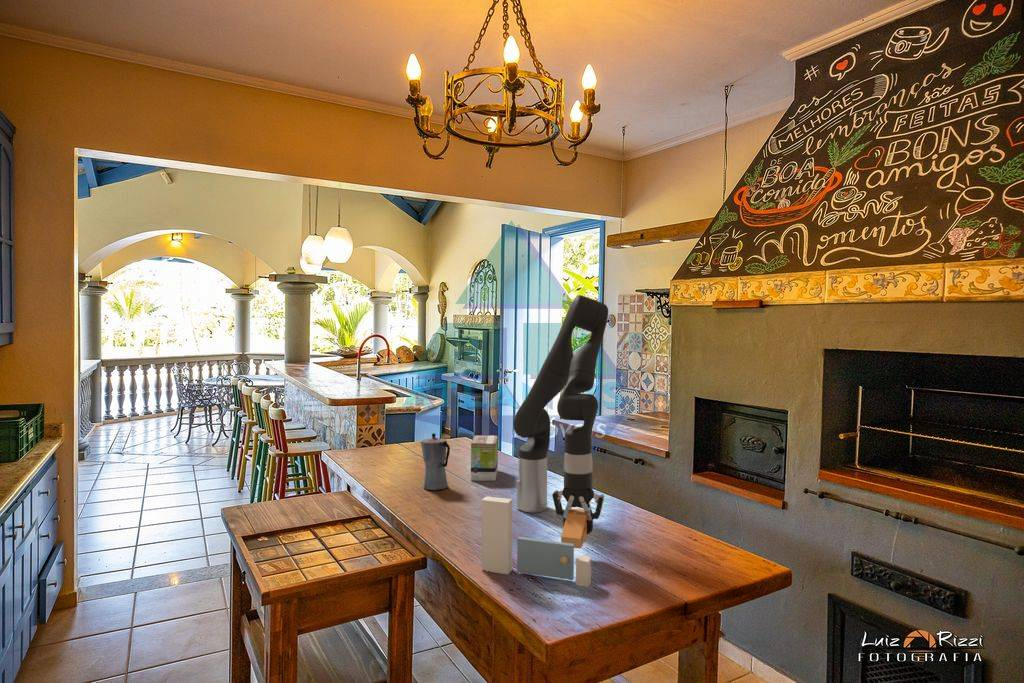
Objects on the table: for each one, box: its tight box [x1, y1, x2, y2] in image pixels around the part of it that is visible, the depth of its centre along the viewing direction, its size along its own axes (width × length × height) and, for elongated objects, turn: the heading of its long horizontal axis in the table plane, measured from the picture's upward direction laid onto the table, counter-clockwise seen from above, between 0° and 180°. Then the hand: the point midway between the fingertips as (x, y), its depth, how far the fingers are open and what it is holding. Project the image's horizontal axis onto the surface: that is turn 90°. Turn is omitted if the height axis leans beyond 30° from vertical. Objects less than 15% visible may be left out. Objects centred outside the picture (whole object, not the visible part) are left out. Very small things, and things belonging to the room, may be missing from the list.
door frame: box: [481, 496, 592, 588], centre depth 141 cm, size 27×3×18 cm, turn 71°
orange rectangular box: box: [560, 508, 589, 549], centre depth 150 cm, size 11×5×6 cm, turn 162°
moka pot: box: [420, 432, 451, 491], centre depth 212 cm, size 10×15×20 cm, turn 51°
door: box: [516, 536, 575, 581], centre depth 140 cm, size 14×3×8 cm, turn 71°
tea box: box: [470, 434, 499, 482], centre depth 227 cm, size 15×10×15 cm
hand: (578, 531), depth 153 cm, fingers closed on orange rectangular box, 5 cm apart
